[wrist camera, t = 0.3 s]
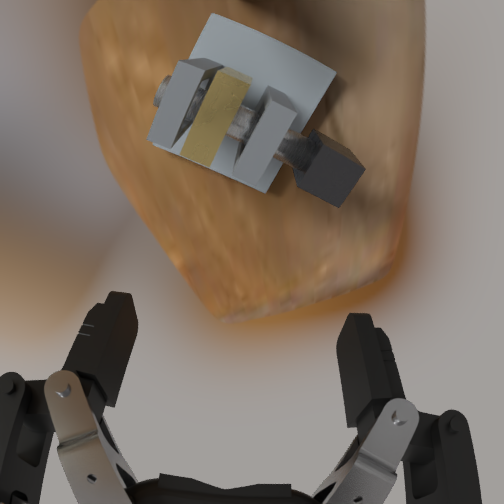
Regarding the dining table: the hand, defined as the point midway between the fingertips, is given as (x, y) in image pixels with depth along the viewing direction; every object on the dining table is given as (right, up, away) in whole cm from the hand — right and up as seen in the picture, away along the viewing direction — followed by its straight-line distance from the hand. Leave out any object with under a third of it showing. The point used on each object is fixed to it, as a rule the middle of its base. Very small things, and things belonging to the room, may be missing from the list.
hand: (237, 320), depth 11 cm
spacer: (-2, +14, +13) cm, 19 cm away
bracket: (0, +18, +21) cm, 28 cm away
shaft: (+1, +14, +15) cm, 20 cm away
